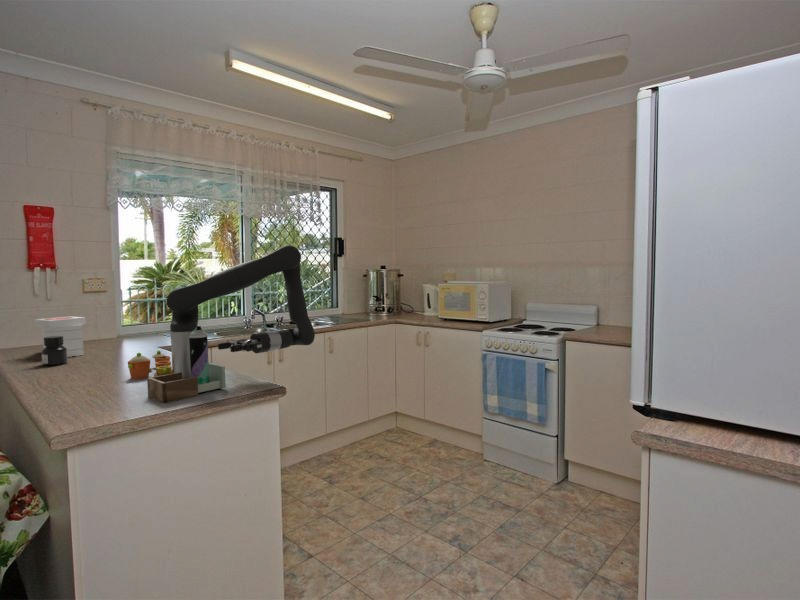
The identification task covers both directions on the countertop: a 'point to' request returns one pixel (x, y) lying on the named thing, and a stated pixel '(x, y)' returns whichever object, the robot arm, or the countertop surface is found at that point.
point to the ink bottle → (54, 351)
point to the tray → (214, 378)
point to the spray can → (199, 355)
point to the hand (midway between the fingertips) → (224, 347)
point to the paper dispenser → (64, 332)
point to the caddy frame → (172, 387)
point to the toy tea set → (141, 365)
